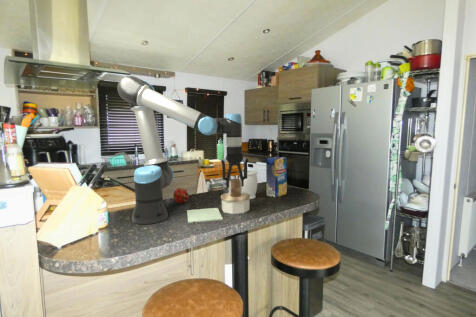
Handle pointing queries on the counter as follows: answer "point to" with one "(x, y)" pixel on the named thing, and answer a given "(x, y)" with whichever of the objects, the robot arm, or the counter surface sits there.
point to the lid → (235, 192)
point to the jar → (250, 184)
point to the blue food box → (276, 176)
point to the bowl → (235, 206)
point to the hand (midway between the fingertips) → (235, 193)
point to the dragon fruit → (181, 195)
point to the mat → (203, 215)
